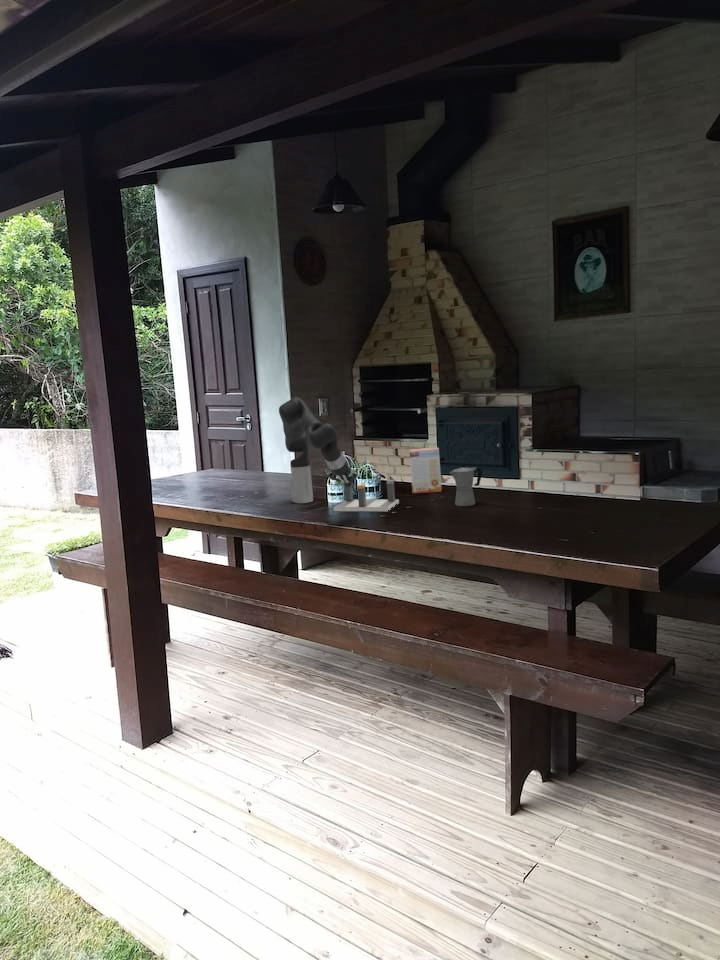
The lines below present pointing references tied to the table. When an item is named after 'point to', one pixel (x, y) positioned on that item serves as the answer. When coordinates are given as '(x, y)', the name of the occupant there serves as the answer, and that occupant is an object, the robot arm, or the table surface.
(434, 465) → the cracker box
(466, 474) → the coffeepot
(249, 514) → the table surface
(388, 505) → the grey base with posts
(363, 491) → the breaker
